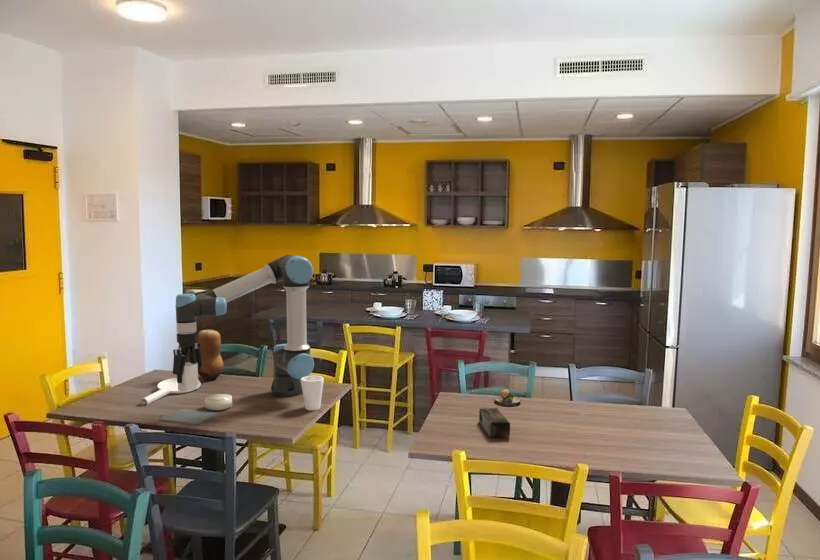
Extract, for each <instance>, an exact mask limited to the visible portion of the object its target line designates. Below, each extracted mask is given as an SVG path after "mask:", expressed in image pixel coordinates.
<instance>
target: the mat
mask: <svg viewBox="0 0 820 560" xmlns="http://www.w3.org/2000/svg"><path fill="white" fill-rule="evenodd" d="M219 414H220V412H217V411H216V412H215V411H214V412H213V411H205V410H198V409H197V410H196V409H188V408H181V409H178V410H176V411H174V412H172V413H170V414H167V415H165V416H163V417H160V418H159V421H160V422H170V423H175V424H176V423H177V424H186V425H193V426H198V425H200V424H202V423H204V422H207V421H208V420H210V419H213V418H215V417H216V416H218V415H219Z"/></svg>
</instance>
